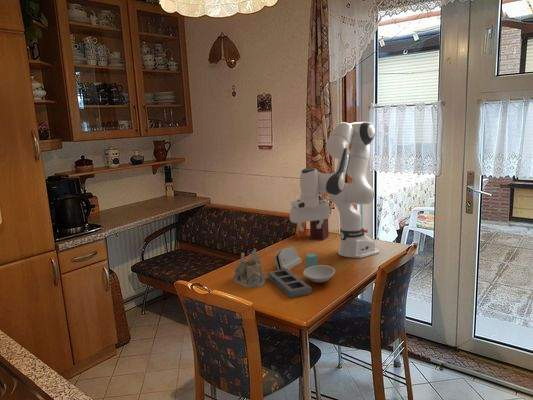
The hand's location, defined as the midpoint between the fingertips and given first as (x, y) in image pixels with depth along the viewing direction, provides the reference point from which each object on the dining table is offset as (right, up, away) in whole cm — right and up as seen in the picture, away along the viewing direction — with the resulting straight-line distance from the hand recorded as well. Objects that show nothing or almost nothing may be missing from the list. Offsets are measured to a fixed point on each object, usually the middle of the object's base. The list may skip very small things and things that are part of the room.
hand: (310, 229), depth 202 cm
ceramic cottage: (-30, -24, -5) cm, 39 cm away
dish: (+3, -23, -11) cm, 26 cm away
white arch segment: (-10, -20, +14) cm, 26 cm away
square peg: (+1, -21, +4) cm, 21 cm away
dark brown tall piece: (+12, -10, +59) cm, 61 cm away
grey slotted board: (-11, -24, -13) cm, 30 cm away
